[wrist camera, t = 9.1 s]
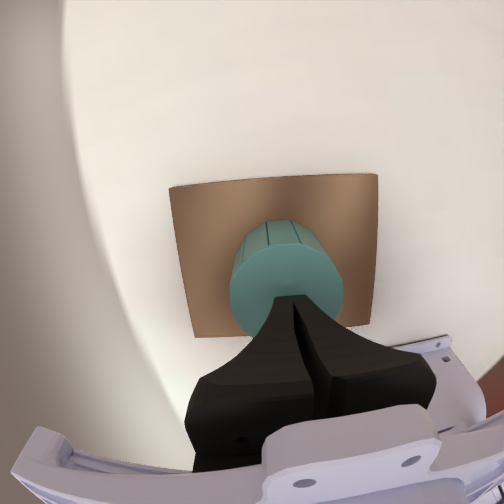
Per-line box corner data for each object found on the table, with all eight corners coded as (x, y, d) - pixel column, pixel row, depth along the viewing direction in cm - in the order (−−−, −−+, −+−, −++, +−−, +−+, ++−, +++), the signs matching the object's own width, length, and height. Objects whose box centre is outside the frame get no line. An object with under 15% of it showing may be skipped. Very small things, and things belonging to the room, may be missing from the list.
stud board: (373, 173, 16) (398, 180, 13) (365, 318, 20) (382, 348, 16) (172, 187, 17) (152, 196, 13) (196, 331, 20) (187, 363, 17)
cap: (323, 217, 17) (345, 241, 12) (323, 298, 18) (339, 340, 14) (232, 223, 17) (223, 250, 13) (240, 304, 18) (236, 348, 14)
